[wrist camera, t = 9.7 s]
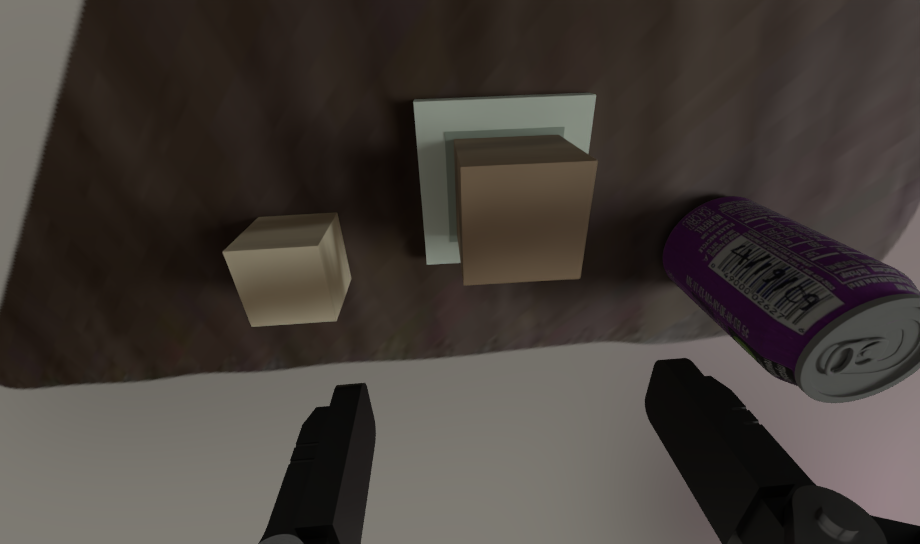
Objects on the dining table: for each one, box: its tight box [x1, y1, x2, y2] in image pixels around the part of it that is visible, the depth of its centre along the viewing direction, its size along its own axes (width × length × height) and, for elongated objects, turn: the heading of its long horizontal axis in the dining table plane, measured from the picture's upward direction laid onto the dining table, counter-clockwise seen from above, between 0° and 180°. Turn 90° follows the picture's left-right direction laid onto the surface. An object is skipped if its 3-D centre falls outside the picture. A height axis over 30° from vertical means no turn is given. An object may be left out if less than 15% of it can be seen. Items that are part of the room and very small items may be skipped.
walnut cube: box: [454, 135, 598, 285], centre depth 21 cm, size 6×6×6 cm
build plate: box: [413, 93, 596, 265], centre depth 24 cm, size 10×10×1 cm
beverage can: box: [663, 196, 920, 403], centre depth 22 cm, size 7×7×12 cm
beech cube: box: [223, 212, 351, 327], centre depth 24 cm, size 5×5×5 cm
